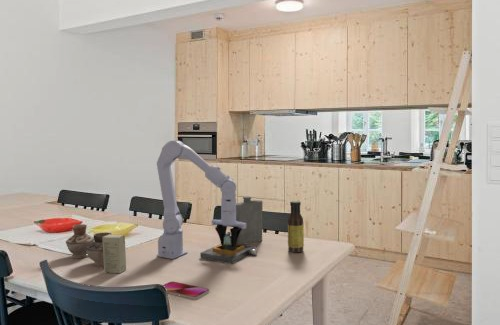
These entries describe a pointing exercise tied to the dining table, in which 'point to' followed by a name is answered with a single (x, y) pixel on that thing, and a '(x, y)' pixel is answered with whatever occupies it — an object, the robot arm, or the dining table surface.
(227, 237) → the spout can
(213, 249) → the grey square hole board
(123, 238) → the skincare box
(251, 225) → the hip flask
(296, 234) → the sauce bottle
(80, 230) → the pottery
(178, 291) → the smartphone
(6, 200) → the dining table surface
